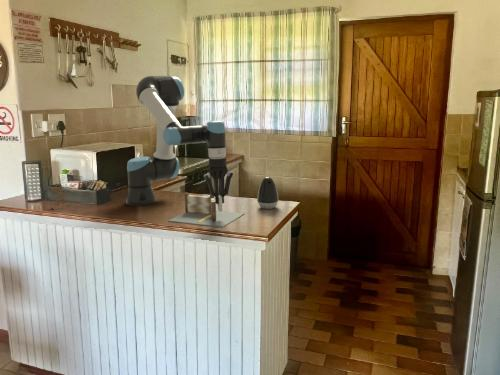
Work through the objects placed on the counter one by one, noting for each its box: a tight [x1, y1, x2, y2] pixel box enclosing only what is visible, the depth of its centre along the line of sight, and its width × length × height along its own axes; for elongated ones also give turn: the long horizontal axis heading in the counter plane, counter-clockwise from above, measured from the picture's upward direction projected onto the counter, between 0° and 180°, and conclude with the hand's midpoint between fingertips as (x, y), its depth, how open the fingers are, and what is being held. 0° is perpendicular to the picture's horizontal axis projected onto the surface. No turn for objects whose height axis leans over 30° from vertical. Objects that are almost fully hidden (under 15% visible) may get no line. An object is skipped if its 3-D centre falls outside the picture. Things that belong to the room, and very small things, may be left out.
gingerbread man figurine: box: [51, 183, 68, 207], centre depth 215 cm, size 9×4×12 cm, turn 149°
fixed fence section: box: [184, 192, 215, 215], centre depth 198 cm, size 16×3×9 cm, turn 66°
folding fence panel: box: [211, 197, 217, 221], centre depth 189 cm, size 10×2×8 cm, turn 8°
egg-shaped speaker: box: [256, 176, 279, 210], centre depth 206 cm, size 10×10×15 cm
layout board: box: [167, 210, 245, 229], centre depth 193 cm, size 27×22×1 cm
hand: (220, 210), depth 188 cm, fingers closed
